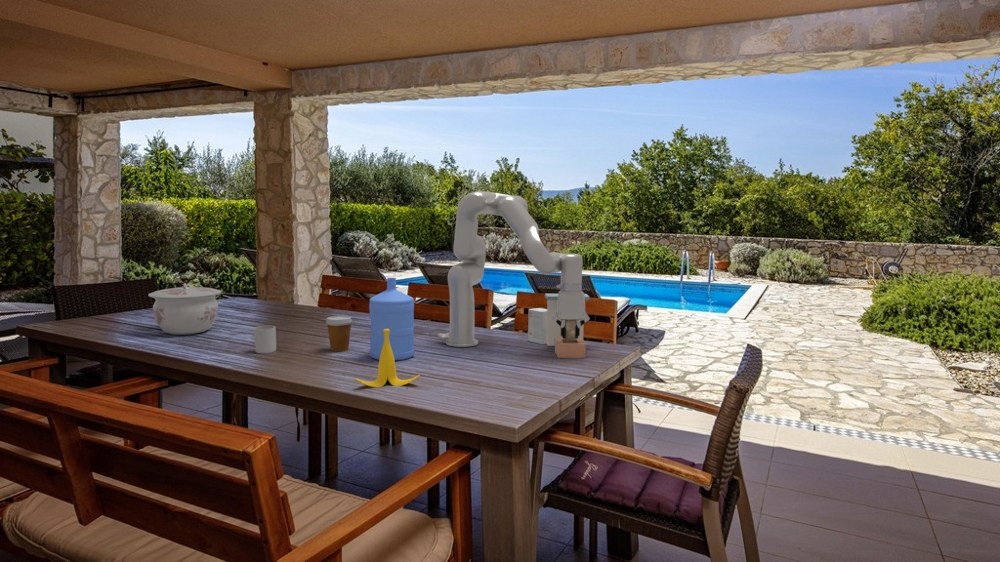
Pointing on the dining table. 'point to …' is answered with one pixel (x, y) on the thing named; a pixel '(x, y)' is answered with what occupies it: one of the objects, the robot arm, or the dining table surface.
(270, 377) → the dining table surface
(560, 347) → the socket
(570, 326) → the peg
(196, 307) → the chamber pot
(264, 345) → the cup
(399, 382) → the banana peel
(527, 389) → the dining table surface
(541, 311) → the small box
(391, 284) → the water jug
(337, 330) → the disposable coffee cup
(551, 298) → the lidded rectangular box
